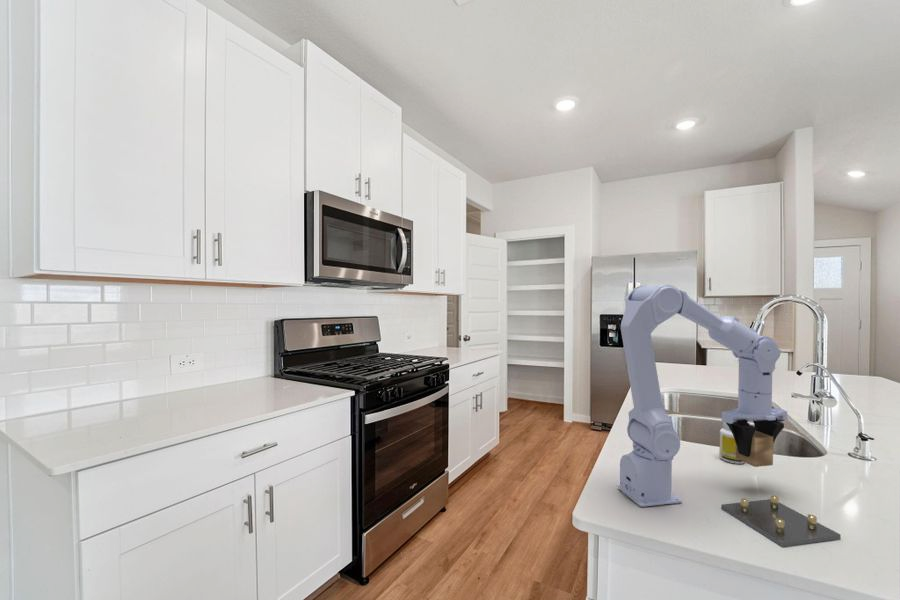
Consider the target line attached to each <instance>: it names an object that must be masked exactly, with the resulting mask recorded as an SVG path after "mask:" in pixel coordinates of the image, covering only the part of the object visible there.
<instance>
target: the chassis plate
mask: <svg viewBox="0 0 900 600" xmlns="http://www.w3.org/2000/svg"><path fill="white" fill-rule="evenodd" d="M720 507H721V508H720V509H721V510H723V511H724V512H726V513H728V514H729V515H731V516H732V517H734V518H735V519H737V520H739V521H740V522H741V523H743V524H745V525H747V527H749V528H752V529H753V530H755V531H756V532H758V533H759V534H761V535H762V536H764V537H766V538H767V539H769V540H770V541H772V542H774V543H775V544H777V545H778V546H779V547H782V548H787V547H793V546H801V545H807V544H814V543H816V544H817V543H822V542H824V543H825V542H829V541H831V542H832V541H836V540H841V539H842V538H841V534H840V533H838V532H836V531H835V530H833V529H832V528H831V529H830V528H829V527H827V526H825V525H823V524H822V523H820V522H817V521H818V520H817V519H818V518H817V516H816V515H814V514H807V516H806V515H804V514H802V513H800V512H798V511H797V510H795V509H793V508H791V507H789V506H787V505H785V504H784V503H781V502H780V501H779V497H778V496H777V495H773V494H772V495H770V498H769V499H759V500H751V501H750V500H748V499H747V498H740V502H733V503H732V502H731V503H724V504H721V505H720Z"/></svg>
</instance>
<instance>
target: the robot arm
mask: <svg viewBox="0 0 900 600" xmlns="http://www.w3.org/2000/svg"><path fill="white" fill-rule="evenodd" d="M624 301H625V309H624V312H623V315H622V319H621V322H620V332H621V338H622V344H623V350H624V355H625V361H626V368H627V374H628V379H629V380H628V381H629V385H630V387H629V388H630V392H631V397H632V403H633V408H632V409H631V410H630V411H628V413H627V414H628V423H627V427H626V432H627V436H628V438H629V440H631V441H632V451H631V452H629V453H626V454H623V455H622V456H621V458H620V460H619V485H617V489H618V490H620V491H621V492H622V493H623V494H624V495H625V496H626V497H628V498H629V499H631V501H633V502H634V503H635V504H637V506H639V507H641V508H643V507H644V508H645V507H651V506H652V507H653V506H662V505H671V504H680V503H682V502H683V501H682V499H681V498H680V497H679V496H677V495H676V494H674V493H673V492H672V485H673V484H672V482H673V481H672V479H673V476H672V470H673V469H672V467H673V462H672V460H674V457H675V456H676V455H677V454H678V453H679V450H680V448H681V439H680V437H679V434H678V433H677V432H676V431H675V428H674V424H673V420H672V419H671V417H669V414H668V413H667V412H666V411H665V409H664V408H663V407H664V406H663V399H662V393H661V389H660V382H659V376H658V370H657V364H656V358H655V353H654V352H655V351H654V346H653V341H652V333H653V331H655V329H657V327H658V326H660V325H661V324H663V323H664V322H665V321H667V320H669V319H670V318H672V317H673V316H675V315H676V314H678V315H680V316H682V317H683V318H684V319H687V320H689V321H691V322H693V323H694V324H696V325H699V326H700V327H702V328H703V329H706V330H708V331H707V332H708V336H709V337H710V339H712V340H713V341H716V343H719V344H720V345H722V346H724V347H725V348H727V349H729V350H730V351H731V352H732V355H733V356H734V357H735V358H736V359H738V388H737V389H738V390H737V391H738V395H737V398H738V399H737V408H734V409H730V410H726V411H721V421H722V422H723V421H724V422H726V424H727V425H728V427H729V428H730V430H731V432H732V434H733V436H734V439H735V442H736V445H737V449H738V453H739V454H742V455H744V456H746V457H749V456H750V453H751V443H752V438H753V435H754V433H755V431H758V432H761V433H764V434H767V435H769V436H772V437H773V445H774V444H775V441H776V439H777V438H778V436H779V435H780V433H781V432H782V430H784V428H785V423H784V422H782V421H786V420H788V411H787V410H785V409H781V408H773V406H772V404H773V402H772V401H773V373H774V371H775V370H776V363H777V361H779V358H780V356H781V352H782V350H781V349H779V345H778V343H777V342H776V341H775V340H774V339H773V338H771V337H770V336H765V335H763V336H762V335H760V334H759V333H758V332H757V330H756V329H755V328H751V327H750V328H749V327H747V326H746V325H744V324H742V323H741V322H739V321H740V318H738V317H736V316H731V315H729V316H728V315H725V316H718V315H716V314H715V313H714V312H713V311H711V310H709V309H708V308H707V307H705V306H703V305H702V304H701V303H699V302H698V301H696V300H695V299H693V298H692V297H690V296H689V295H688V294H687V292H686V291H684V290H681V289H679V288H677V287H676V286H674V285H671V284H663V285H638V286H636V287H634V288H633V289H632V290H631V291H630V292H629V293H628V295H627V296H626V297H625V298H624ZM779 420H781V421H779ZM749 422H753V425H751V424H750V423H749Z"/></svg>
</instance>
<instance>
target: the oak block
mask: <svg viewBox="0 0 900 600" xmlns="http://www.w3.org/2000/svg"><path fill="white" fill-rule="evenodd" d="M736 458H737V459H739V460H741V461H743V462H745V463H746V464H747V465H750V466H751V467H755V468H756V467H758V468H759V467H767V466H773V465H774V444H773V437H772V436H769V435H767V434H764V433H761V432H758V431H755V433H754V435H753V438H752V443H751V453H750V456H749V457H746V456H744V455H742V454H739V453H738V449H737V445H736ZM745 463H744V464H745Z"/></svg>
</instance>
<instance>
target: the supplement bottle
mask: <svg viewBox="0 0 900 600" xmlns="http://www.w3.org/2000/svg"><path fill="white" fill-rule="evenodd" d="M722 422H723V423H722V426H723V427H722V428H720V430H719V453H718V455H719V458H720V459H721V460H722V461H724V462H725V463H726V462H727V463H729V462H730V464H734V463H735V464H736V465H743V464H745V462H743V461H741V460H739V459H737V458H736V442H735V439H734V436H733V434H732V432H731V430H730V428H729V427H728V425H727V424H726V422H724V421H722ZM735 464H734V465H735Z"/></svg>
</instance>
